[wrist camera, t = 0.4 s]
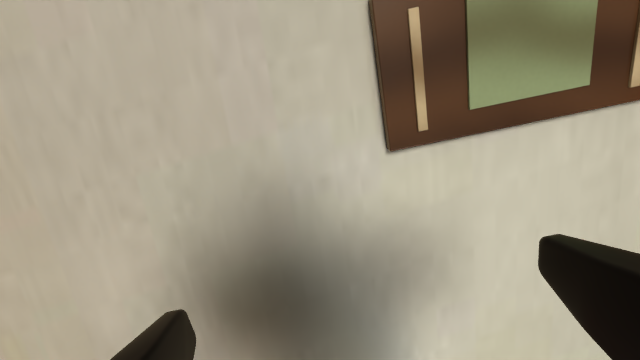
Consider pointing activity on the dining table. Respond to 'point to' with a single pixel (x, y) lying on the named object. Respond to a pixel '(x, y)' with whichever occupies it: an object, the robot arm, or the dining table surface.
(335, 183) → the dining table surface
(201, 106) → the dining table surface
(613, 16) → the brown and green board
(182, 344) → the robot arm
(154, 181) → the dining table surface
